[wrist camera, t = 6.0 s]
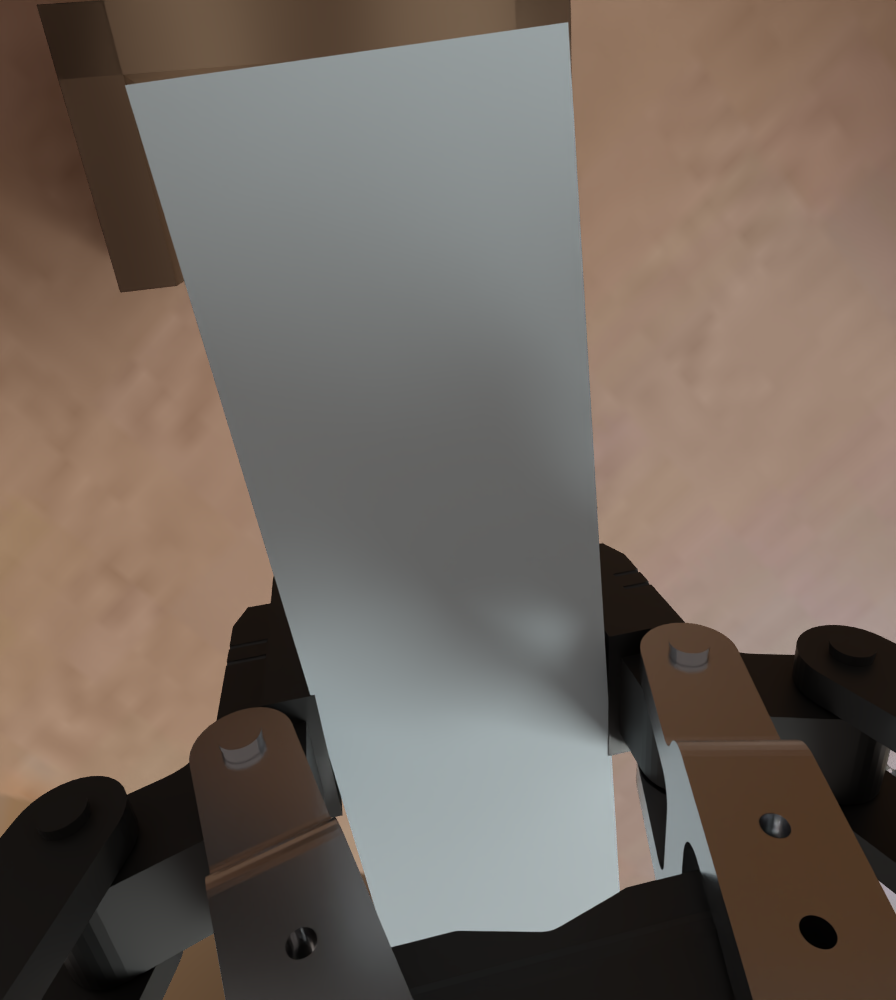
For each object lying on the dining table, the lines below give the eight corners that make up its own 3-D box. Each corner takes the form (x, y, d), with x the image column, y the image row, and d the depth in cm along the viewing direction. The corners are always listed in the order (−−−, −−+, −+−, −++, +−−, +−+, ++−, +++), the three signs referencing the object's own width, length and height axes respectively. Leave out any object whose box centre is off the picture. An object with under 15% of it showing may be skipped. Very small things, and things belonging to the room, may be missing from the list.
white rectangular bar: (473, 86, 10) (568, 22, 6) (558, 835, 17) (626, 1010, 13) (194, 129, 9) (124, 84, 6) (399, 879, 16) (425, 1072, 13)
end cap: (530, 4, 21) (570, -30, 17) (538, 233, 23) (574, 238, 20) (82, 36, 19) (36, 4, 16) (147, 278, 22) (120, 292, 18)
